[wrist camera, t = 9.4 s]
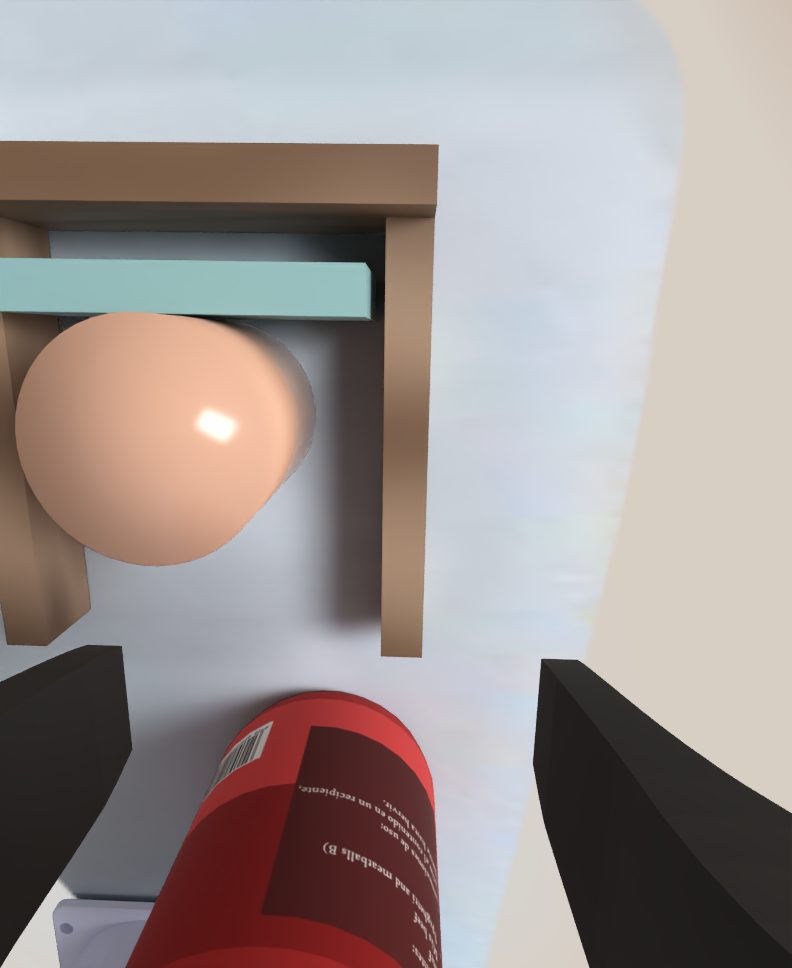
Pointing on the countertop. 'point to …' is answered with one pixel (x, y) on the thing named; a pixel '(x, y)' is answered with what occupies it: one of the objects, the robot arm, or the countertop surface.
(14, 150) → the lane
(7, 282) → the plate
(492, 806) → the countertop surface
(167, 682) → the countertop surface
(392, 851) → the canned food
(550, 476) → the countertop surface
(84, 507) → the tan rounded cylinder
